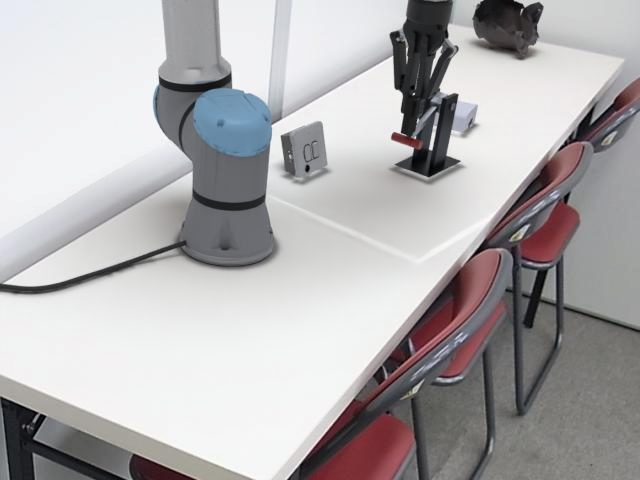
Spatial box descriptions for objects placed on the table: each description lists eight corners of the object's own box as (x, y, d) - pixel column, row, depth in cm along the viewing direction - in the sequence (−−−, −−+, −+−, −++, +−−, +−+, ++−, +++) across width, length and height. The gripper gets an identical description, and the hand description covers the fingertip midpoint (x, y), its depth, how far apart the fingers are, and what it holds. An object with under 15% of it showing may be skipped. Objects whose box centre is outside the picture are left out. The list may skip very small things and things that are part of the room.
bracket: (428, 182, 174) (443, 105, 165) (393, 169, 178) (406, 94, 169) (460, 166, 181) (476, 92, 172) (426, 154, 185) (439, 80, 176)
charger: (409, 109, 205) (474, 124, 201) (396, 121, 199) (462, 137, 194) (413, 88, 203) (478, 103, 198) (399, 100, 196) (467, 115, 191)
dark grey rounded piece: (544, 48, 250) (476, 36, 259) (554, -8, 240) (483, -19, 249) (524, 64, 241) (455, 51, 250) (533, 6, 232) (461, -5, 241)
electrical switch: (299, 184, 169) (300, 134, 164) (277, 178, 172) (277, 129, 167) (328, 170, 175) (330, 122, 170) (306, 165, 178) (307, 117, 173)
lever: (418, 153, 168) (417, 143, 166) (391, 143, 171) (390, 133, 169) (457, 107, 171) (457, 97, 169) (430, 98, 174) (429, 88, 172)
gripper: (476, 1, 152) (448, 138, 166) (411, -16, 159) (389, 117, 173) (453, 7, 147) (427, 148, 162) (387, -10, 154) (367, 127, 168)
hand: (407, 132), depth 167 cm, fingers closed
